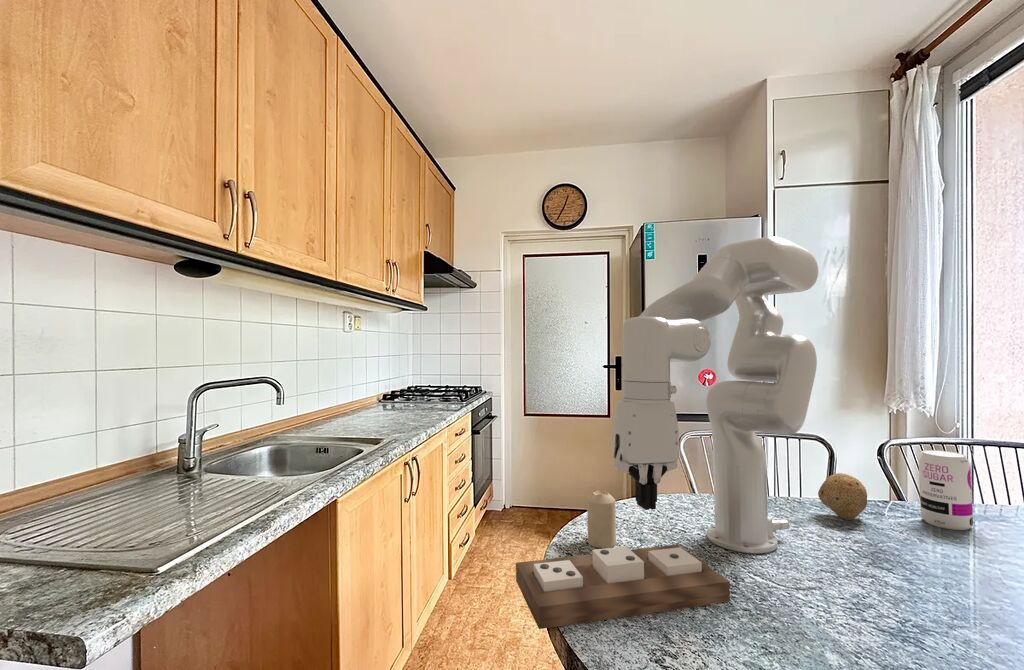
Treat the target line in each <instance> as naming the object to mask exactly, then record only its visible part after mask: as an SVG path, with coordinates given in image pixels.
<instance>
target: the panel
mask: <svg viewBox="0 0 1024 670" xmlns="http://www.w3.org/2000/svg"><path fill="white" fill-rule="evenodd" d="M678 547H681V548H682V549H683V550H685V551H686V552H688V553H689V554H690V555H692V556H693V557H695V558H696V559H697V560H699V561H700V562H702V572H696V573H688V574H680V575H673V576H666V575H665V574H664V573H663V572H661V571H660V570H659V569H658V568H657V567H656V566H654V565H653V564H652V563H651V562H650V561H649V560H648V551H652V550H661V549H670V548H678ZM630 550H631V551H632V552H633V553H635V554H636V555H637V556H638V557H639V558H640V559H641V560H642V561H644V579H642V580H634V581H626V582H618V583H610V584H606V582H605V581H604V580H603V579H602V578H601V577H600V575H599V574H598V573H597V572H596V571H595V570H594V568H593V554H592V553H590V554H589V553H588V554H583V555H572V556H564V557H555V558H546V559H545V558H544V559H537V560H529V561H520V562H519V561H518V562H515V582H516V584H517V587H518V588H519V590H520V592H521V594H522V597H523V599H524V601H525V603H526V605H527V606H528V609H529V611H530V613H531V617H533V620H534V621H535V624H536V626H537V628H538V630H542V629H543V630H544V629H550V628H551V629H552V628H556V627H563V626H569V625H578V624H582V623H583V624H584V623H585V624H586V623H593V622H598V621H604V620H610V619H618V618H624V617H630V616H638V615H646V614H652V613H659V612H665V611H673V610H678V609H679V610H680V609H688V608H694V607H700V606H706V605H708V606H709V605H714V604H720V603H721V604H722V603H728V602H731V590H730V589H731V587H730V586H731V583H730V580H729V579H727V578H726V577H725V576H723V575H722V574H720V573H719V572H717V571H716V570H715V569H713V568H712V567H711V566H709V565H707V564H706V563H704V562H703V561H702V560H701V559H699V558H698V557H696V556H695V555H694V554H692V553H691V552H689V551H688V550H686V549H685V548H684V547H682V545H679V544H670V545H662V546H661V545H660V546H653V547H645V548H635V549H630ZM565 560H570V561H571V563H572V564H573V565H574V567H575V568H576V569H577V570H578V572H579V573H580V574H581V576H582V577H583V587H579V588H571V589H564V590H556V591H548V592H543V591H542V590H541V588H540V586H539V584H538V582H537V581H536V579H535V577H534V564H538V563H547V562H556V561H565Z"/></svg>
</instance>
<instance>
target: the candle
mask: <svg viewBox="0 0 1024 670" xmlns="http://www.w3.org/2000/svg"><path fill="white" fill-rule="evenodd" d="M586 505H587V506H586V509H587V516H586V517H587V543H588V545H590V546H592V547H594V548H597V549H605V548H614V547H616V544H617V522H616V521H617V520H616V517H617V516H616V499H615V498H614V497H613V495H611V494H610V493H609V492H607V491H606V490H605V489H603V490H595V491H594V492H592V493H590V495H588V496H587V498H586Z"/></svg>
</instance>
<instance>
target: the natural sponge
mask: <svg viewBox="0 0 1024 670" xmlns="http://www.w3.org/2000/svg"><path fill="white" fill-rule="evenodd" d="M817 494H818V499H819V500H820V502H821V503H822V504H823V505H825V506H826V507H828V508H829V509H830V510H831V511H832V512H833V513H834V514H835V515H836V516H837V517H839V518H840V519H843V520H845V521H850V520H851V521H852V520H855V519H856V518H857V517H858V516H859V515H860V514H861V513H862V512H864V510H865V509H866V508H867V505H868V493H867V489H866V487H865V485H864V484H863V483H862V482H861V481H860V480H859V479H857V478H856V477H854V476H852V475H850V474H847V473H840V472H839V473H834V474H831V475H829V476H828V477H827V478H826V479H825V480H824V481H823V483H822V484H821V486H820V487H819V490H818V493H817Z"/></svg>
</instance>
